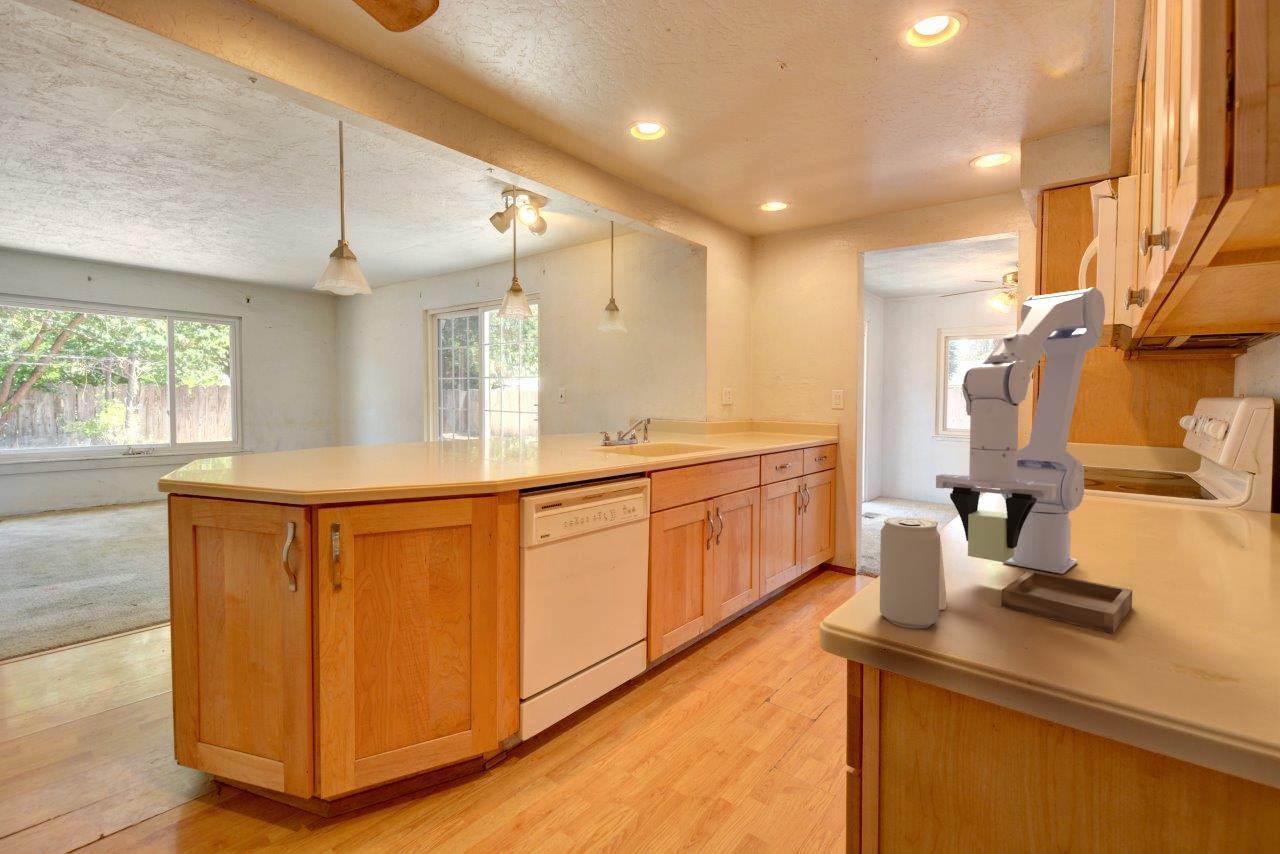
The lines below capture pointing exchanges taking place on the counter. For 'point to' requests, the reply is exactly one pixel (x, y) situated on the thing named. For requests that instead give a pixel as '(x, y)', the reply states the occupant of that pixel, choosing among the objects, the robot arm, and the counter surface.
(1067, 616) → the walnut tray
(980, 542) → the sage block
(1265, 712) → the counter surface
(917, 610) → the beverage can
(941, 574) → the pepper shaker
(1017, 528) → the robot arm
